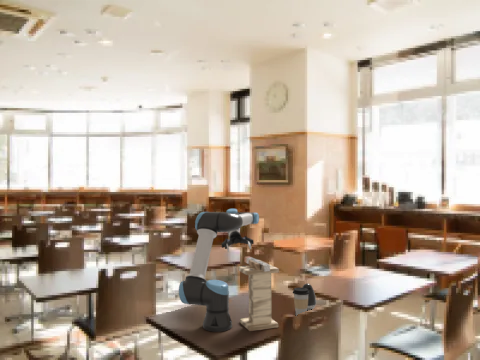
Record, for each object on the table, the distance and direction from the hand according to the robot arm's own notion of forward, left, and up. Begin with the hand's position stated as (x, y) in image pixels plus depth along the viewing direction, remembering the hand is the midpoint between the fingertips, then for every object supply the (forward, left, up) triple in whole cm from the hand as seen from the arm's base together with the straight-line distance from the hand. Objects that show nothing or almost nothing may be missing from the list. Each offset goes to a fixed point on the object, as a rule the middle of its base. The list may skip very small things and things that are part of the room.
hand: (239, 248), depth 247 cm
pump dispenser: (+30, -28, -36) cm, 54 cm away
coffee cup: (+18, -35, -36) cm, 53 cm away
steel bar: (-10, -30, -5) cm, 32 cm away
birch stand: (-10, -33, -35) cm, 49 cm away
